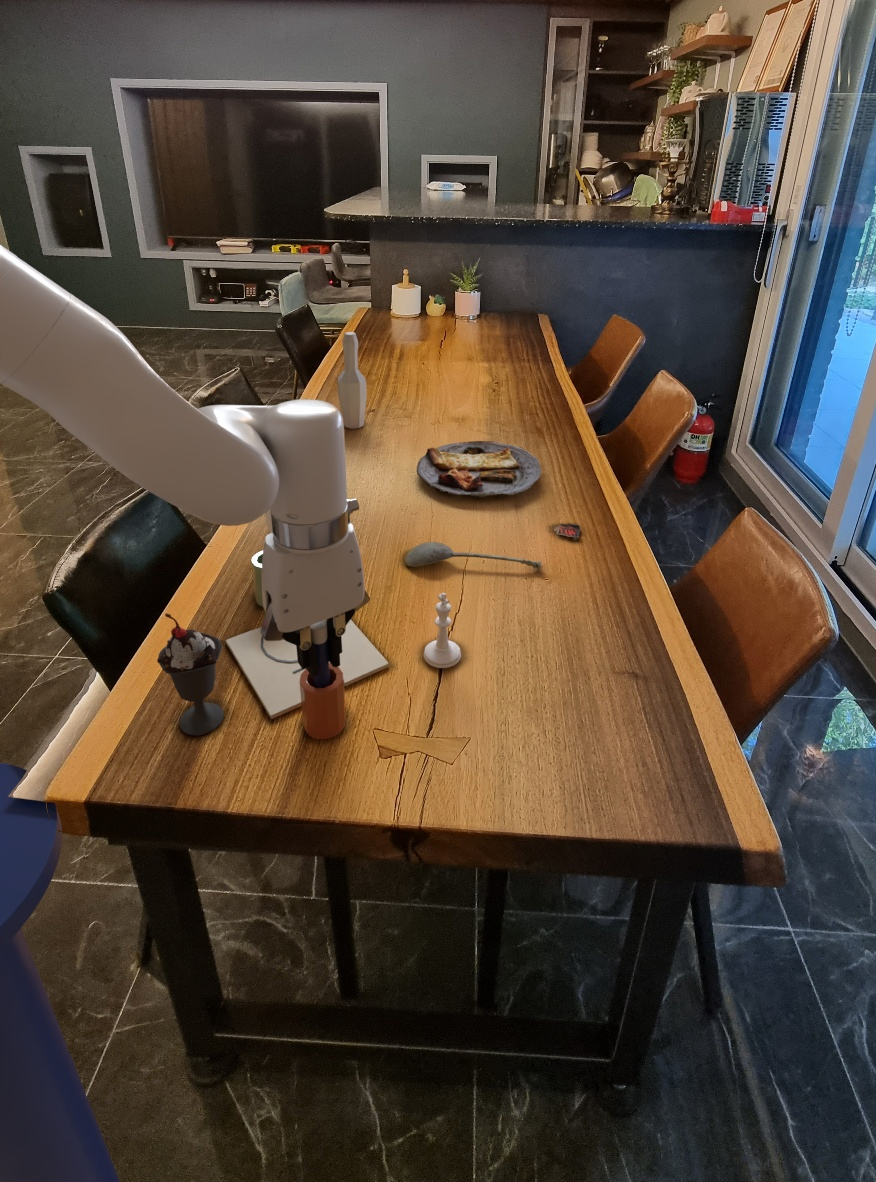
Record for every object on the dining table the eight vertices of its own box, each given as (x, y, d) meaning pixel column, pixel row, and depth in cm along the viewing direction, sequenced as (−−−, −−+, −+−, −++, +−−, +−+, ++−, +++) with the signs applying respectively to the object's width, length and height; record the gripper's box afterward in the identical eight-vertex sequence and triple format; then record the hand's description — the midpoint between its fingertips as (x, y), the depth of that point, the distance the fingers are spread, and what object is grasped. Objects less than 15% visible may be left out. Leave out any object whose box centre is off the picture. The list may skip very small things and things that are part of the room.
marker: (320, 728, 80) (313, 632, 74) (313, 718, 81) (306, 622, 75) (335, 721, 81) (329, 625, 75) (328, 711, 82) (322, 616, 76)
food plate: (415, 503, 129) (415, 486, 128) (417, 451, 150) (417, 436, 149) (548, 503, 130) (549, 487, 129) (531, 451, 151) (532, 437, 150)
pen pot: (314, 746, 78) (310, 699, 75) (297, 718, 81) (293, 673, 79) (352, 727, 80) (350, 681, 78) (334, 702, 84) (331, 657, 81)
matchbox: (579, 525, 123) (579, 522, 123) (582, 540, 119) (582, 538, 118) (552, 524, 123) (552, 521, 123) (555, 539, 119) (555, 537, 119)
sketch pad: (271, 719, 81) (270, 715, 81) (226, 643, 93) (225, 639, 93) (389, 666, 90) (389, 662, 89) (334, 603, 102) (333, 599, 101)
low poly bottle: (334, 423, 163) (329, 332, 154) (356, 417, 167) (353, 328, 158) (349, 432, 159) (346, 338, 150) (372, 425, 163) (370, 334, 153)
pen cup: (263, 612, 99) (258, 571, 96) (251, 595, 103) (246, 555, 100) (294, 601, 102) (291, 561, 99) (282, 584, 105) (278, 545, 102)
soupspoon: (408, 550, 116) (401, 574, 110) (408, 533, 114) (400, 557, 109) (540, 558, 113) (540, 583, 108) (541, 541, 112) (541, 565, 106)
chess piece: (437, 673, 89) (438, 610, 85) (416, 652, 92) (416, 590, 88) (468, 658, 92) (470, 596, 87) (446, 638, 95) (448, 577, 91)
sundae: (170, 706, 83) (150, 604, 76) (228, 692, 85) (214, 592, 79) (171, 748, 77) (149, 642, 71) (233, 732, 79) (218, 628, 73)
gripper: (362, 487, 76) (367, 621, 84) (219, 527, 68) (239, 672, 76) (397, 516, 71) (399, 656, 79) (246, 564, 62) (264, 716, 70)
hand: (320, 663), depth 77 cm, fingers closed on marker, 2 cm apart
